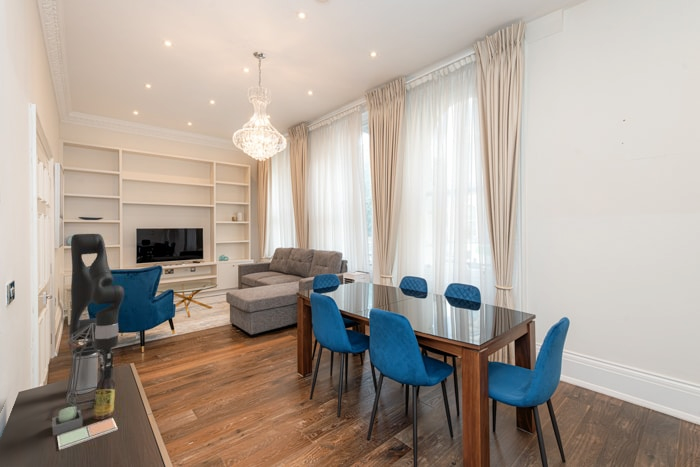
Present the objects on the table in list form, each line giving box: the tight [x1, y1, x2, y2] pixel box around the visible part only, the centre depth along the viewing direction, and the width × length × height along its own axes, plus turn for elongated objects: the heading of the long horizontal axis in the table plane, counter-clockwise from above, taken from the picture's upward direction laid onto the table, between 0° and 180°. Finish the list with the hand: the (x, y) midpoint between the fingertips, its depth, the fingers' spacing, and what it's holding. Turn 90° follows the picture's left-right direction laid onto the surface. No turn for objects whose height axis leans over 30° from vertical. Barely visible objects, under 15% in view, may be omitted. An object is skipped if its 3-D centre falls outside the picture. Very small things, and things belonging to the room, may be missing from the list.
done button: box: [58, 406, 77, 424], centre depth 117 cm, size 5×5×4 cm
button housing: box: [51, 409, 84, 437], centre depth 117 cm, size 8×8×3 cm
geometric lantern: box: [64, 323, 101, 412], centre depth 133 cm, size 16×16×35 cm
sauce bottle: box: [93, 364, 116, 420], centre depth 125 cm, size 7×6×20 cm
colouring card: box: [56, 417, 119, 451], centre depth 113 cm, size 10×16×1 cm, turn 136°
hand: (105, 375), depth 125 cm, fingers open, 8 cm apart
